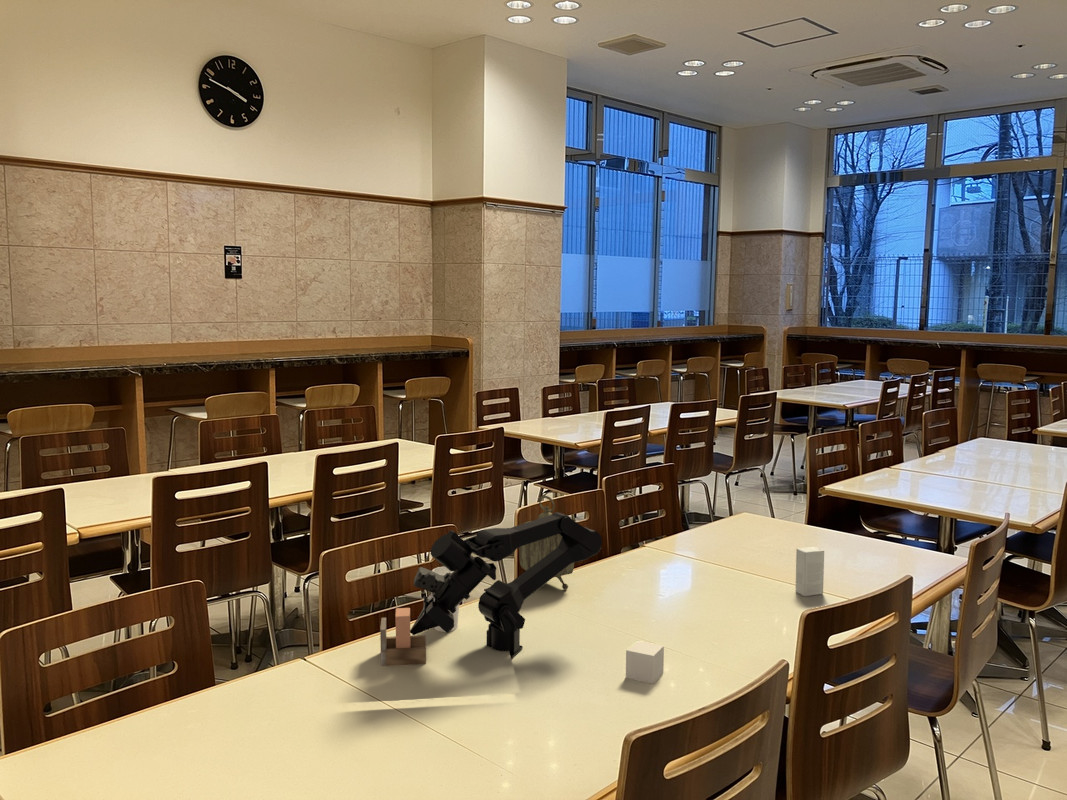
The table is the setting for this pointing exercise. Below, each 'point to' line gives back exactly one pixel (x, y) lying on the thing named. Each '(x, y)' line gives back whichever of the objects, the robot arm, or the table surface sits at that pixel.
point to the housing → (401, 649)
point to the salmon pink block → (403, 628)
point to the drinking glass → (442, 572)
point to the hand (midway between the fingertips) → (411, 633)
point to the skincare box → (809, 571)
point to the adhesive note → (644, 661)
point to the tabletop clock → (542, 548)
